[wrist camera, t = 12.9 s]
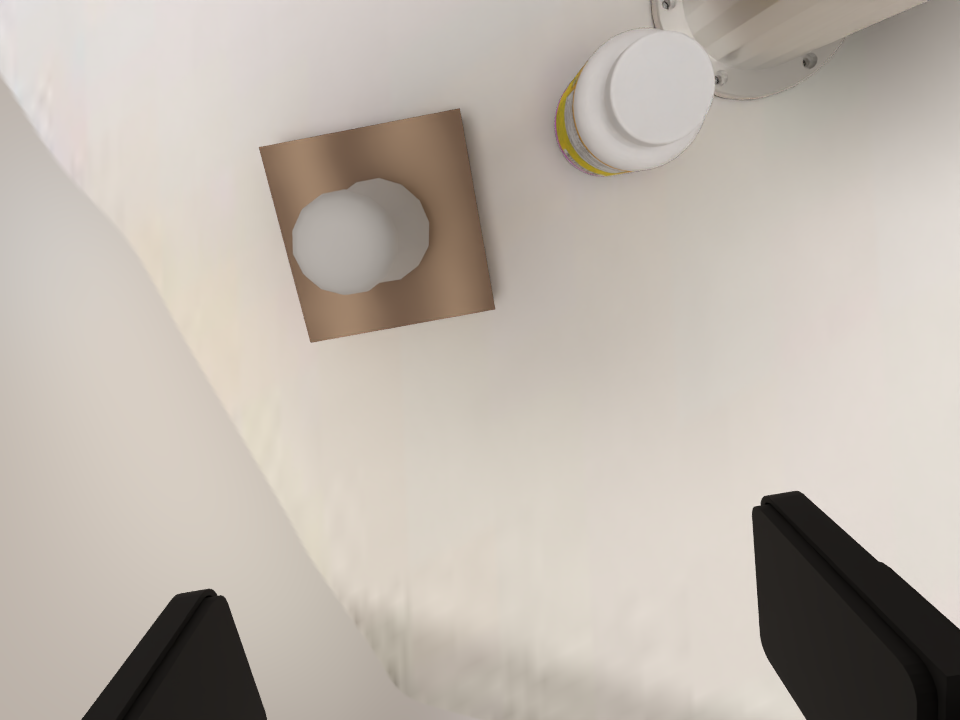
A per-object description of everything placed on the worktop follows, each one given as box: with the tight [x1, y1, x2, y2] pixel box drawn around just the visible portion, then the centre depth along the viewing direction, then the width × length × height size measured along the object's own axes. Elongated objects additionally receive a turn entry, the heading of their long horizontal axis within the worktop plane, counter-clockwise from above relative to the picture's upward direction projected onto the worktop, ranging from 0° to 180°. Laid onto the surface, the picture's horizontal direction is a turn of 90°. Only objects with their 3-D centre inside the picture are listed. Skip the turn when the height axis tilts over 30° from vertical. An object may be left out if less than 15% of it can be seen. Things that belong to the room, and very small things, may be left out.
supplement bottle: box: [554, 28, 715, 176], centre depth 32 cm, size 7×7×13 cm
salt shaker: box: [292, 178, 429, 295], centre depth 30 cm, size 6×6×13 cm
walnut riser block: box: [259, 108, 495, 343], centre depth 38 cm, size 12×12×4 cm
